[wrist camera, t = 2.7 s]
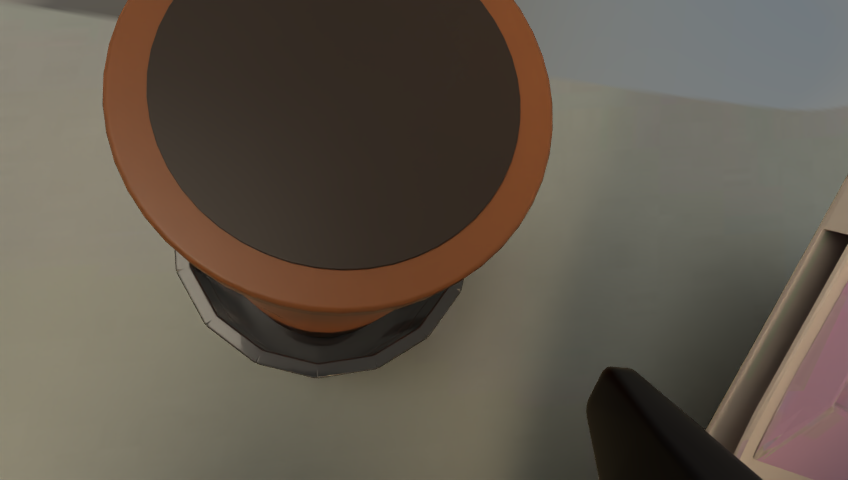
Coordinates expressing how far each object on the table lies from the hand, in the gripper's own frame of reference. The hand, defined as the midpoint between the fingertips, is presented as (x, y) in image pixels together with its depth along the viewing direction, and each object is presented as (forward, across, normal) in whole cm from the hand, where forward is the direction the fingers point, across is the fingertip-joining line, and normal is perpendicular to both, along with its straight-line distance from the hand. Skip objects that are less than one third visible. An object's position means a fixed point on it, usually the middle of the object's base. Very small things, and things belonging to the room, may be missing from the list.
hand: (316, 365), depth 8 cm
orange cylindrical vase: (+10, 0, +5) cm, 11 cm away
